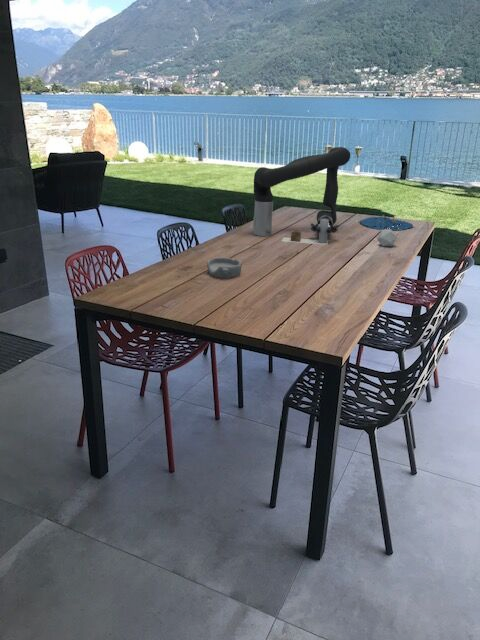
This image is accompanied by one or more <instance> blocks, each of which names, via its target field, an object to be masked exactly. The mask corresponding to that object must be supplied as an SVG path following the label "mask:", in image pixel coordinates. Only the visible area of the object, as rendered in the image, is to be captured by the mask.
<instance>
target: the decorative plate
mask: <svg viewBox="0 0 480 640" xmlns="http://www.w3.org/2000/svg"><path fill="white" fill-rule="evenodd" d="M359 224H361V225H362V226H365V227H368V228H369V229H371V230H380V231H381V230H390V229H391V230H392V231H397V230H398V231H403V229H404V230H405V231H406V230H408V229H409V228H413V227H414V225H413V223H410V222H407V221H405V220H400V219H397V218H391V217H387V216H385V214H384V215H383V214H382V215H381V216H370V217H367V218H364V219H360V220H359ZM399 224H401V225H399ZM397 225H398V227H397ZM392 226H394V227H392ZM384 227H385V228H384ZM386 227H387V228H388V229H387V228H386ZM389 228H390V229H389ZM398 228H399V229H398Z"/></svg>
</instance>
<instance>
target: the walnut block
mask: <svg viewBox="0 0 480 640" xmlns="http://www.w3.org/2000/svg"><path fill="white" fill-rule="evenodd" d="M290 238H291V241H296V242H300V240H301V239H302V230H297V229H292V230H291V232H290ZM296 242H295V243H296Z"/></svg>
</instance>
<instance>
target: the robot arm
mask: <svg viewBox="0 0 480 640" xmlns="http://www.w3.org/2000/svg"><path fill="white" fill-rule="evenodd" d="M350 159H351V151H349V149H348V148H346V147H343V146H338V147H337V146H336V147H332V148H330V149H329V150H328V152H327V153H321V154H311V155H307V156H303V157H299V158H296V159H294V160H292V161H290V162H289V163H287V164H285V165H282V166H280V167H275V168H268V167H264V166H263V167H262V166H261V167H259V168H257V170H255V173H254V175H253V196H254V215H253V220H252V221H253V222H252V235H254V236H259V237H269V236H271V235H272V232H273V230H272V228H273V211H274V209H273V207H274V195H273V193H272V190H271V188H272V187H274V186H277V185H280V184H281V183H284V182H287V181H288V182H289V181H291V180H292V181H293V180H296V179H300V178H303V177H307V176H310V175H313V174H316V173H319V172H322V171H324V170H326V179H325V180H326V181H325V187H324V194H323V199H322V204H323V206H324V207H328V208H330V210H323V209H321V210H319V211H318V212H317V213H316V221H317V222H316V224H315V223H310V230H311V231H313V232H315V233H317V234H319V230H320V219H328V220H329V224H328V233H327V234H328V235H329V234H331V233H336V232H337V231H339V225H338V224H336V222H337V220H338V219H337V201H338V196H339V184H338V172H339V168H340V167H341V166H345V165H346V164H347V163H348V162H349V161H350ZM335 224H336V225H335Z"/></svg>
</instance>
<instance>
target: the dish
mask: <svg viewBox="0 0 480 640" xmlns="http://www.w3.org/2000/svg"><path fill="white" fill-rule="evenodd" d="M206 263H207V264H206V267H207V271H208V274H209V275H210V276H211V277H216V278H219V277H221V278H220V279H230V278H231V277H232V278H235V277H238V276H240V275H241V274H242V273H241V272H242V265H243V263H242V261H240V260H238V259H233V258H231V257H214V258H213V257H212V258H210V259H208V260H207V262H206ZM232 278H231V279H232Z"/></svg>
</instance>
